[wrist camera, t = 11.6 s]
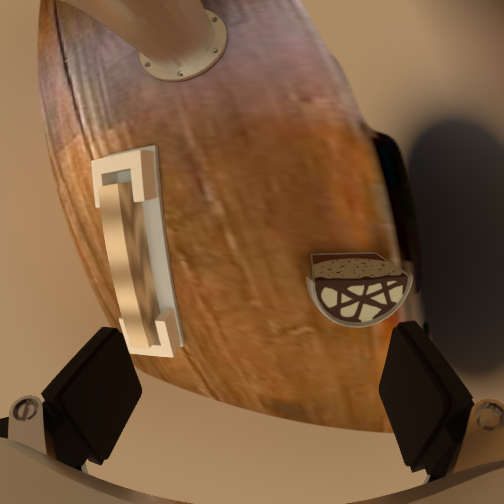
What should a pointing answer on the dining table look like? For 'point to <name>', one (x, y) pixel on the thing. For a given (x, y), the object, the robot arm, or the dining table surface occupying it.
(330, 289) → the food container
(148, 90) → the dining table surface
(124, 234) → the slat
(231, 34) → the dining table surface
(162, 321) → the frame
